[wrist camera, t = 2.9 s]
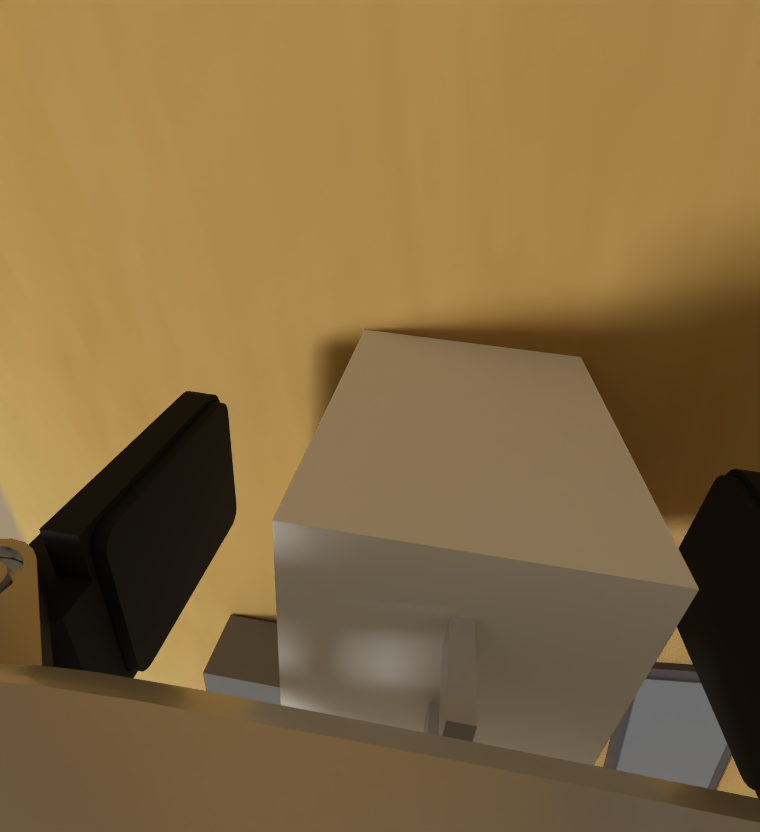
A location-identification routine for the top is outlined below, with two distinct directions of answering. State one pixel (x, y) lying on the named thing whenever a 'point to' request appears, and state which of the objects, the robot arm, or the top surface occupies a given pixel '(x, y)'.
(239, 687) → the dock
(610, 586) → the charger
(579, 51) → the top surface
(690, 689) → the phone
